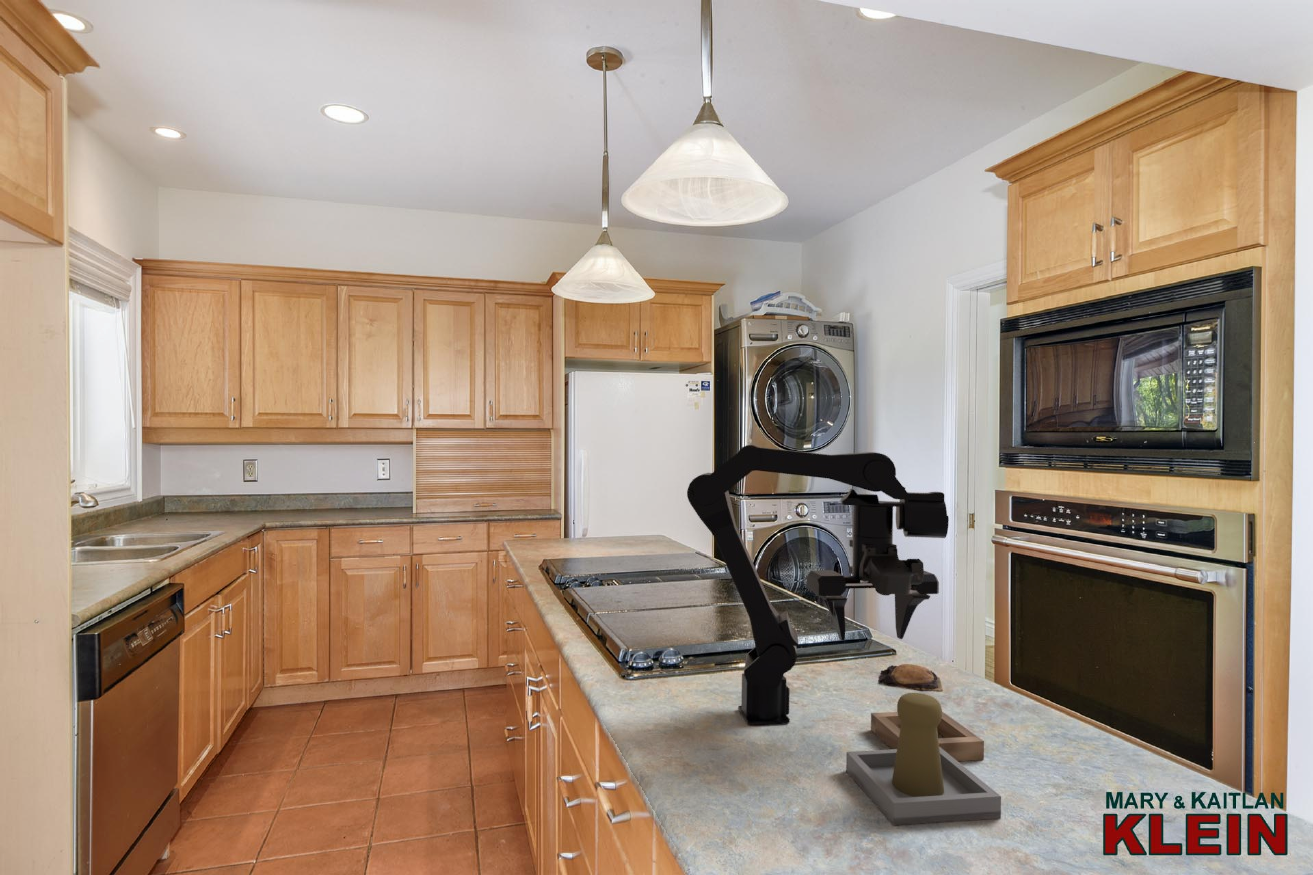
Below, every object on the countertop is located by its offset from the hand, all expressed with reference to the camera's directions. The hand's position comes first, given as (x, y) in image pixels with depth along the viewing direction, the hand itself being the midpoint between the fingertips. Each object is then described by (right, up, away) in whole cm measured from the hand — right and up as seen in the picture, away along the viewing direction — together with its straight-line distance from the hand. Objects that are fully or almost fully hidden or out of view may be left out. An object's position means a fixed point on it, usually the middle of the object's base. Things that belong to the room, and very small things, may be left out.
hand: (871, 639), depth 107 cm
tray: (0, -13, -20) cm, 24 cm away
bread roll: (+13, -14, +20) cm, 28 cm away
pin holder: (+6, -13, -6) cm, 16 cm away
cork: (0, -12, -20) cm, 24 cm away
